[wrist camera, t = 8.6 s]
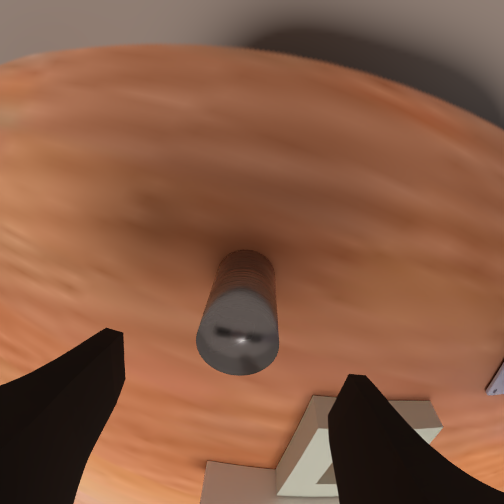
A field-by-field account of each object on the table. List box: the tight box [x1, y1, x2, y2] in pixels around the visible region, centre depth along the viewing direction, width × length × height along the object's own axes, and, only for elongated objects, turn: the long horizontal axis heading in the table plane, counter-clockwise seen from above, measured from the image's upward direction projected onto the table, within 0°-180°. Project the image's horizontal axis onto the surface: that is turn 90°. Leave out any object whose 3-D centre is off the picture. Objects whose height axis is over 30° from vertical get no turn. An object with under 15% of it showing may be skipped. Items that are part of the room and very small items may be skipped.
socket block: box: [276, 395, 443, 497], centre depth 20 cm, size 10×10×3 cm
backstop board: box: [200, 460, 339, 504], centre depth 21 cm, size 20×2×6 cm, turn 79°
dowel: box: [196, 250, 279, 375], centre depth 14 cm, size 3×3×6 cm
